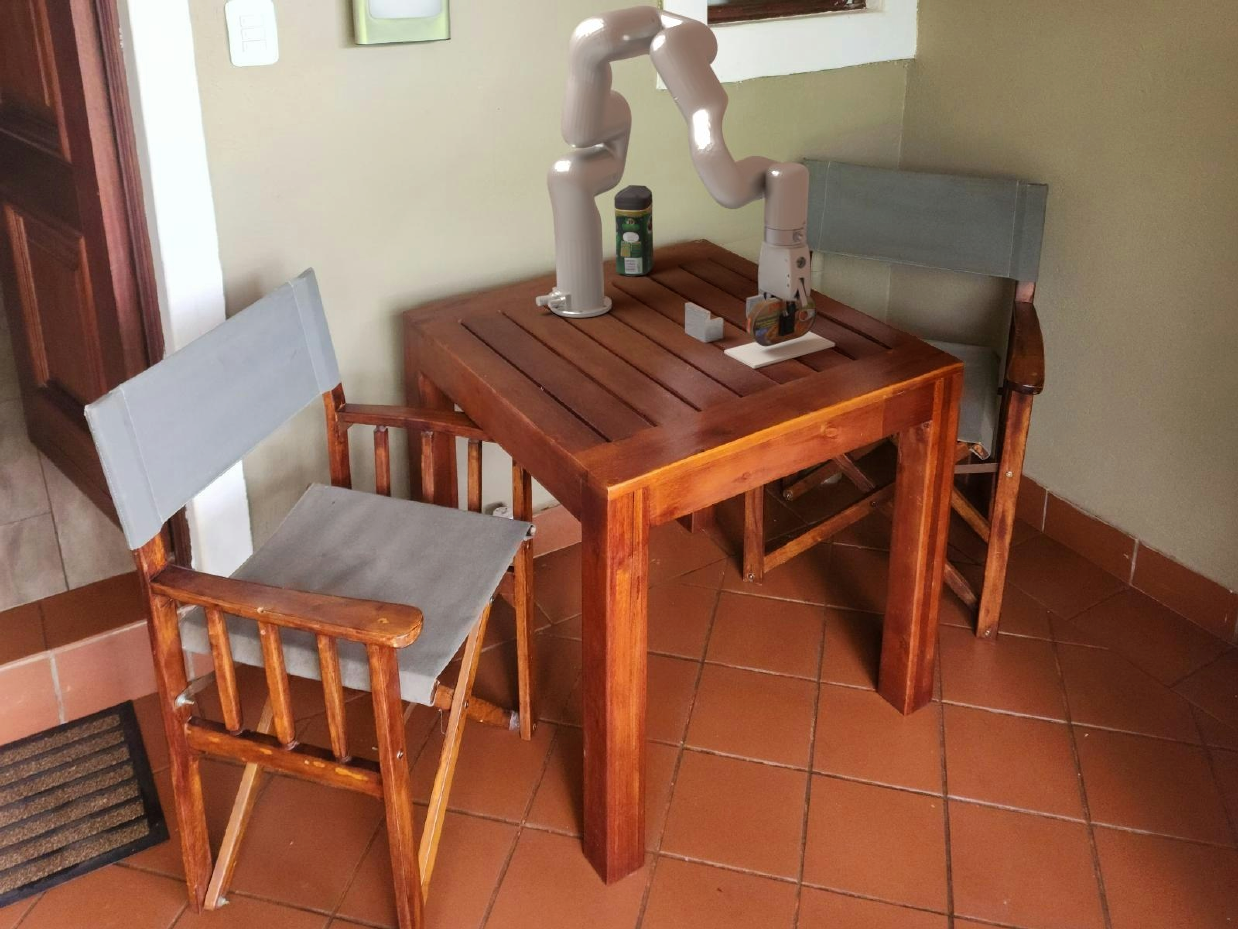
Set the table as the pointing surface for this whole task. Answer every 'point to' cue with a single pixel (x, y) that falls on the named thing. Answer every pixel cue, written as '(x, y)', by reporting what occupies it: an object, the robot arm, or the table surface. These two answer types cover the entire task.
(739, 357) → the mat
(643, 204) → the coffee jar
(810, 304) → the tin
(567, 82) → the robot arm
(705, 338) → the end brackets
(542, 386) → the table surface
